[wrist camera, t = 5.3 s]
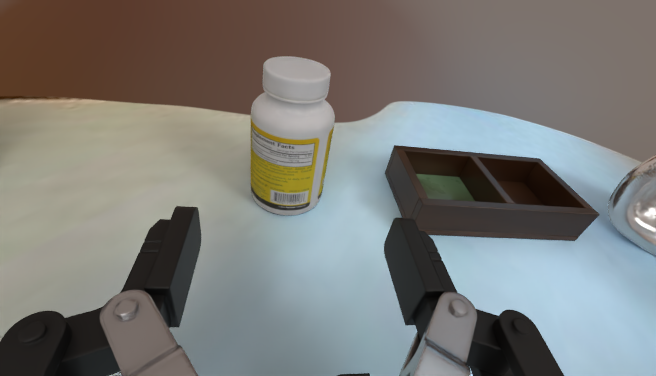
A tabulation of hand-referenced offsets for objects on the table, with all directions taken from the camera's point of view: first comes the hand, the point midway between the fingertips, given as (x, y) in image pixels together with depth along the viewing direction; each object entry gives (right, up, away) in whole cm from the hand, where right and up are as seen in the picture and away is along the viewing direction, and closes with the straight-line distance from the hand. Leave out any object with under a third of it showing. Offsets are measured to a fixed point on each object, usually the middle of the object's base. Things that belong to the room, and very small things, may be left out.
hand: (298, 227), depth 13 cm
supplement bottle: (-2, +1, +12) cm, 12 cm away
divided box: (+14, 0, +15) cm, 20 cm away
